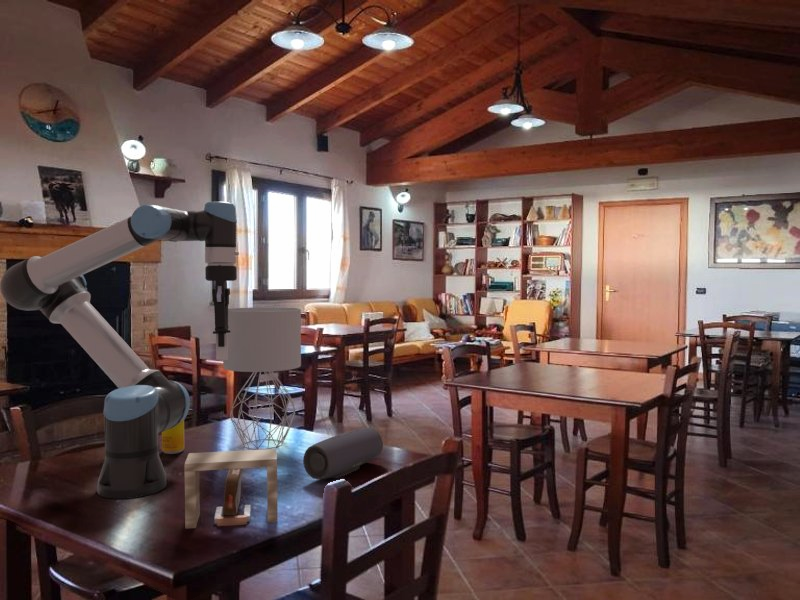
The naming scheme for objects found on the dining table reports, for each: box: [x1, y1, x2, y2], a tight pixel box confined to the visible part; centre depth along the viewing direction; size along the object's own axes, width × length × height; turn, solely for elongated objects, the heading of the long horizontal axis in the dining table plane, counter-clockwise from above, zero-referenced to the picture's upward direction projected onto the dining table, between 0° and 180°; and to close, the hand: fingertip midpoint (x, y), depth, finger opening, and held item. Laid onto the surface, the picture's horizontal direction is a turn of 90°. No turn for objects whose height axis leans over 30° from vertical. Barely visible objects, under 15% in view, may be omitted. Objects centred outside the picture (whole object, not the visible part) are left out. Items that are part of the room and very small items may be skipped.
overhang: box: [184, 448, 278, 530], centre depth 138 cm, size 18×8×13 cm, turn 101°
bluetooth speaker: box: [302, 426, 384, 480], centre depth 169 cm, size 23×9×10 cm, turn 148°
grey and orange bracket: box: [213, 504, 252, 527], centre depth 138 cm, size 7×8×2 cm
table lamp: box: [222, 306, 302, 450], centre depth 196 cm, size 22×22×40 cm
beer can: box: [161, 418, 185, 455], centre depth 189 cm, size 6×6×15 cm
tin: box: [222, 468, 244, 516], centre depth 143 cm, size 15×3×8 cm, turn 8°
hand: (222, 359), depth 167 cm, fingers closed
